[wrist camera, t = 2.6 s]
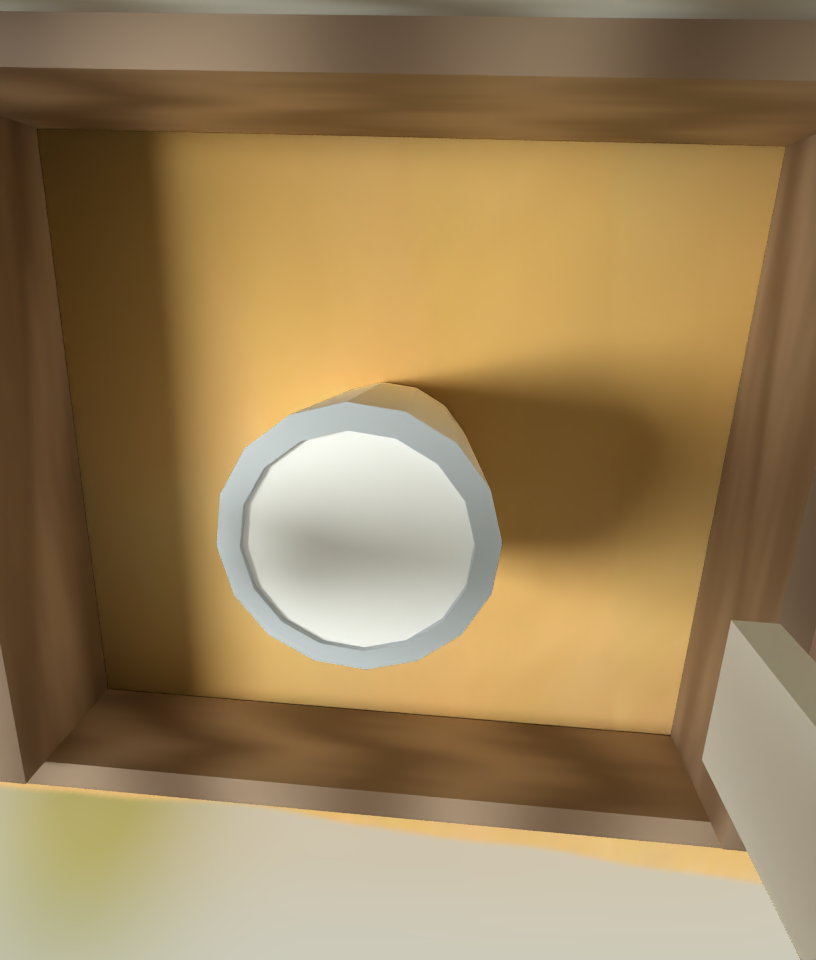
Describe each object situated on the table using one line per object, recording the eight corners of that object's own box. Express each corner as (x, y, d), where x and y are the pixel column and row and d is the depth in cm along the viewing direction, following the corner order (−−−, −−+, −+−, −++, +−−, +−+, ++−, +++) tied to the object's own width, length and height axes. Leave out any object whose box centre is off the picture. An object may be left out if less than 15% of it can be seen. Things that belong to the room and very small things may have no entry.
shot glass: (520, 513, 22) (547, 617, 15) (343, 583, 23) (297, 706, 16) (438, 327, 20) (427, 350, 13) (253, 414, 21) (160, 475, 15)
